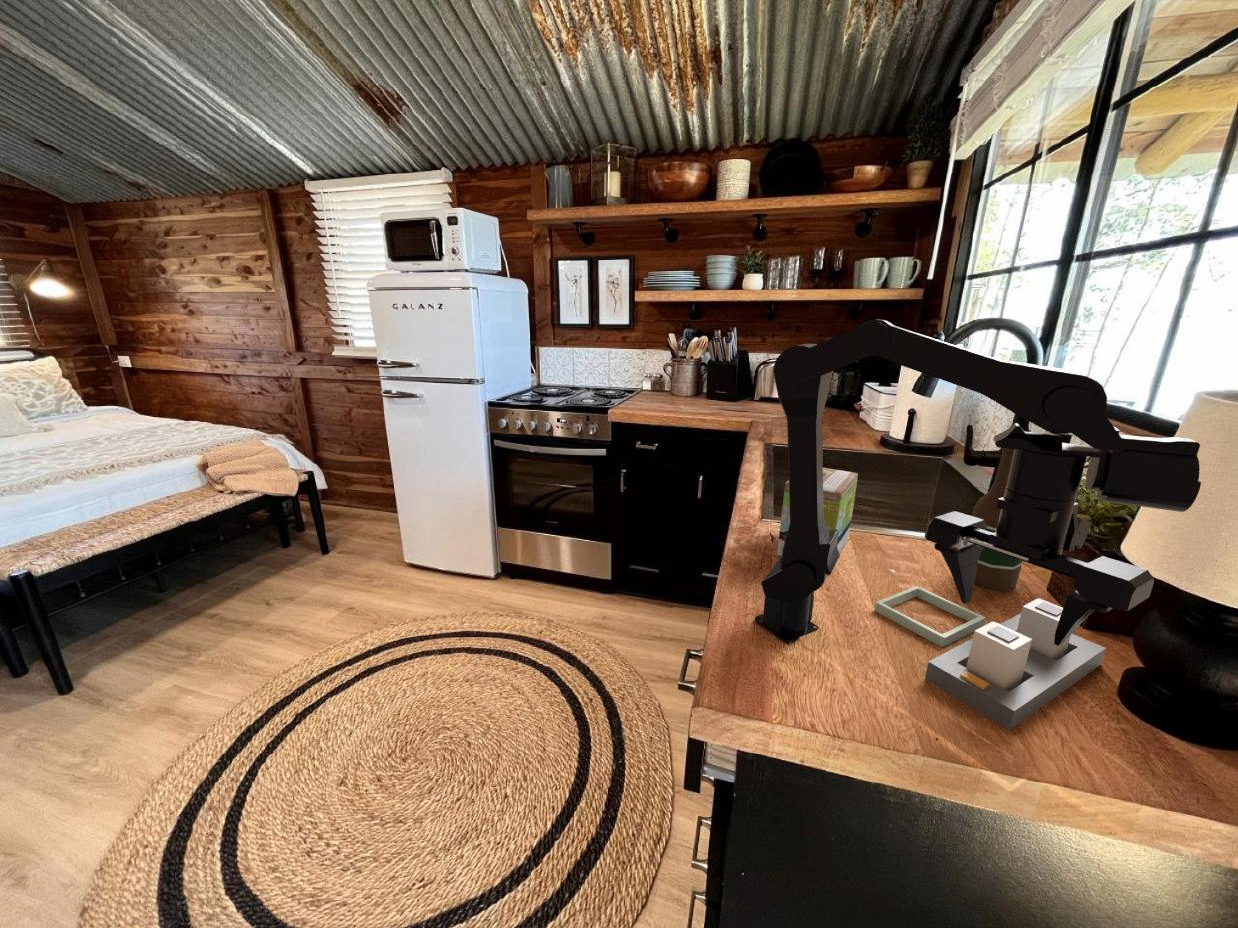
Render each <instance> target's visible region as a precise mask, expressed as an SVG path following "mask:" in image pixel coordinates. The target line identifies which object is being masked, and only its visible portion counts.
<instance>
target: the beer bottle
mask: <svg viewBox="0 0 1238 928" xmlns="http://www.w3.org/2000/svg"><path fill="white" fill-rule="evenodd" d="M1000 449H1001V451H1002V453H1001V456H1000V460H999V463H998V467H997V471H996V473H995V476H994V480H993V483H992V485H991V487H990V489H989V490H988V491H987V492H986V493H985V494H984V495H982V496H981V497H980V498H979V499H978V501H977V502H976V504H975V505H974V506H973V509H972V512H971V515H970V516H973V517H976V518H979V519H983V520H984V521H985V523H986V525H987V527H986V531H989V532H992V533H995V532H996V531H997V526H998V521H999V517H1000V512H1001V509H999V508H996V505H997V501H998V499H999V498H1002V497H1004V494H1005V489H1006V485H1007V481H1008V476H1009V471H1010V467H1011V462H1012V458H1013V453H1014V449H1007V448H1000ZM1022 565H1023V561H1022V560H1019V559H1016V558H1013V557H1010V556H1007V555H1004V554H1001V553H999V552H996V551H993V550H990V549H987V548H983V550H982V552H981V554H980V556H979V558H978V562H977V569H976V576H975V583H974V586H977V587H980V588H983V589H985V590H991V591H998V592H1000V591H1001V592H1009V591H1010V590H1012V589H1014V588H1016V587H1017V583H1018V581H1019V578H1020V577H1019V576H1020V572H1021V569H1022Z"/></svg>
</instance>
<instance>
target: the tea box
mask: <svg viewBox="0 0 1238 928" xmlns="http://www.w3.org/2000/svg"><path fill="white" fill-rule="evenodd" d="M858 477H859V474H858V473H857V472H853V471H846V470H841V469H840V470H839V469H833V468H828V467H823V516H824V520H825V523H826V525H827V528H828V530H839V535H838V540H837V549H838V552H839V554H840V555H841V553H842V551H843V549H844V548H845V547H846V544H847V542H848V541H849V537H850V531H851V524H852V518H853V513H854V512H853V511H854V504H855V497H856V491H857V485H858ZM784 484H785V486H784V492H783V500H782V501H783V502H782V508H781V515H780V516H781V517H780V524H779V525H780V526H779V534H778V542H777V549H776V556H778V557H780V558H781V557H782V552H783V547H784V543H785V539H786V536H787V532H788V528H789V524H790V505H789V479H788V480H787V481H786V482H785V483H784Z"/></svg>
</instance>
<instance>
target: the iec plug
mask: <svg viewBox="0 0 1238 928" xmlns="http://www.w3.org/2000/svg"><path fill="white" fill-rule="evenodd" d="M1000 624H1001V623H998V622H996V621H994V620H992V621H991V622H989V623H987V624H984V626H983V627H981V628H979V629H977V630H975V631H974V632H973V635H972V639H973V640H972V644H971V649H970V653H969V658H968V662H967V667H966V668H967V669H969V670H971V671H973V672H974V673H976V674H978V675H980V676H982V677H983V678H985V679H987V680H989V681H991V682H992V683H994V684H996V685H998V686H1000V687H1001V688H1003V689H1005V690H1007V691H1011V690H1013V689H1014V688H1016V687H1017V686H1019V685H1020V684H1021V680H1022V676H1023V673H1024V669H1025V665H1026V661H1027V657H1028V654H1029V650H1030V646H1031V642H1032V639H1031V638H1028V637H1026V636H1024V635H1022V634H1020V633H1018V632H1015V631H1013V630H1011V629H1009V628H1007V627H1005V626H1002V625H1000Z"/></svg>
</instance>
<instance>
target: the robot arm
mask: <svg viewBox="0 0 1238 928" xmlns="http://www.w3.org/2000/svg"><path fill="white" fill-rule="evenodd" d="M868 357H876V358H879V359H882V360H885V361H887V362H891V363H893V364H897V365H898V366H902V367H904V368H908V369H911V370H913V371H916V372H919V373H921V374H924V375H927V376H929V377H933V378H936V379H939V380H942V381H944V382H947V383H949V384H953V385H956V386H959V387H962V388H964V389H966V390H970V391H973V392H975V393H978V394H981V395H983V396H985V397H987V398H988V399H990V400H991V401H993V402H995V403H996V404H999V405H1000V406H1002V407H1003V408H1005V409H1007V410H1008V411H1010V412H1011V413H1013V414H1015V415H1017V416H1019V417H1020V418H1022V419H1024V420H1026V421H1028V422H1030V423H1032V424H1033V425H1035V426H1036V427H1038V428H1039V429H1042V430H1045V431H1046V432H1049V433H1043V432H1034V431H1033V432H1031V431H1025V430H1024V428H1022V427H1021V426H1020V424H1019V423H1018V422H1017V423H1016V422H1015V423H1013V424H1012V425H1011V426H1010V427H1009V428H1008V429H1006V430H1004V431H1001V432H1000V433H998V434H996V435H994V436H993V442H994V445H995V446H996V447H997V448H1000V449H1001V448H1007V449H1014V453H1013V458H1012V462H1011V467H1010V471H1009V476H1008V481H1007V485H1006V489H1005V494H1004V497H1002V498H999V499H998V501H997V505H996V508H999V509H1001V512H1000V517H999V521H998V526H997V531H996V532H995V533H992V532H989V531H986V527H987V525H986V523H985V521H984V520H983V519H979V518H976V517H973V516H971V515H969V514H967V513H963V512H959V511H957V510H954V511H951V512H947V513H944V514H941V515H938V516H934V517H933V518H931V519H929V520H928V523H927V524H926V526H925V532H924V539H925V540H927V541H929V542H931V543H935V544H934V546H933V547H934V548H933V549H935V550H936V551H939V552H940V553H941V556H942V557H943V559H944V562H945V563H946V566H947V567H948V569H949V572H950V574H951V577H952V579H953V581H954V584H955V587H956V591H957V593H958V596H959V598H960V601H961V603H962V604H964V605H967V604H969V603H971V600H972V596H973V593H974V589H975V584H974V583H975V576H976V569H977V562H978V558H979V556H980V554H981V552H982V550H983V548H987V549H990V550H993V551H996V552H999V553H1001V554H1004V555H1007V556H1010V557H1013V558H1016V559H1019V560H1022V562H1025V563H1028V564H1030V565H1034V566H1036V567H1039V568H1041V569H1045V570H1048V571H1050V572H1054V573H1056V574H1060V575H1062V576H1065V577H1069V578H1071V579H1074V583H1073V588H1074V589H1075V590H1074V591H1072V592H1071V593H1069V594H1067V596H1066V598H1065V600H1064V603H1063V607H1062V608H1063V610H1062V613H1061V616H1060V619H1059V622H1058V625H1057V628H1056V631H1055V638H1054V644H1055V645H1057V646H1059V645H1061V644H1062V643H1064V641H1065V640H1066V639H1067V638H1068V637H1069V636H1070V635H1071V634H1072V633H1073V632H1074V631H1075V632H1076V630H1077V629H1078V628H1079V626H1080V625H1082V623H1083V622H1084V621H1085V620H1086V619H1087V618H1088V616H1089V615H1091V614H1092V613H1093V612H1094V611H1097V612H1098V613H1099V612H1100V613H1108V612H1110V611H1111V610H1113V609H1114V610H1117V611H1122V612H1123V611H1124V612H1129V611H1130V610H1131V609H1133V608H1135V607H1136V606H1137V605H1139V604H1141V603H1142V602H1143V601H1145V600H1147V599H1148V598H1150V595H1151V593H1152V590H1153V587H1154V583H1155V580H1154V579H1155V578H1154V577H1153V576H1152V573H1151V572H1150V570H1148V569H1146V568H1143V567H1140V566H1136V565H1133V564H1130V563H1126V562H1124V561H1121V560H1117V559H1114V558H1110V557H1107V556H1104V555H1102V556H1100V557H1098V558H1095V559H1093V560H1092V561H1090V562H1085V561H1082V560H1079V559H1076V558H1073V557H1070V556H1067V555H1064V554H1062V553H1063V551H1066V552H1068V553H1069V552H1072V551H1073V550H1075V548H1077V549H1082V548H1083V546H1084V543H1085V540H1086V538H1087V536H1088V534H1089V531H1090V528H1091V526H1092V525H1093V522H1091V521H1089V520H1087V519H1084V518H1083V517H1079V516H1078V513H1079V503H1077V502H1076V499H1077V496H1078V491H1079V488H1080V485H1081V482H1082V477H1083V473H1084V470H1085V466H1086V465H1085V464H1086V462H1087V458H1088V457H1089V458H1090V459H1089V463H1088V467H1087V470H1086V475H1085V486H1086V488H1087V490H1090V491H1097V492H1096V494H1097V498H1098V499H1099V501H1100V502H1106V503H1113V504H1121V505H1129V506H1136V507H1143V508H1150V509H1157V510H1164V511H1165V510H1166V511H1172V512H1173V511H1174V512H1179V513H1183V512H1186V511H1188V510H1189V509H1190V508H1191V507H1192V506H1193V504H1194V503H1195V501H1196V500H1197V497H1198V495H1199V492H1200V489H1201V485H1202V483H1201V480H1200V460H1199V457H1198V455H1199V454H1198V453H1199V451H1200V447H1201V444H1200V443H1199V442H1198V441H1196V440H1194V439H1191V438H1190V437H1189V438H1187V437H1176V436H1175V437H1174V436H1173V437H1172V436H1171V437H1170V436H1169V437H1151V436H1150V437H1149V436H1138V435H1137V436H1136V435H1125V434H1120V429H1118V428H1117V427H1115V426H1114V425H1113V424H1112V422H1111V421H1110V419H1109V418H1108V416H1106V414H1105V411H1106V409H1107V406H1108V405H1107V404H1108V395H1107V394H1106V391H1105V388H1104V387H1103V385H1102V384H1101V383H1100V382H1099V381H1097V380H1096V379H1093V378H1092V377H1089V376H1088V375H1084V374H1082V373H1080V372H1079V371H1078V372H1077V371H1074V370H1071V369H1065V368H1059V367H1054V366H1053V367H1051V366H1046V365H1040V364H1033V363H1026V362H1018V361H1011V360H1006V359H1005V360H1004V359H998V358H995V357H993V356H989V355H986V354H984V353H980V352H977V351H973V350H971V349H967V348H965V347H961V346H958V345H956V344H952V343H949V342H946V341H942V340H940V339H936V338H933V337H931V336H928V335H925V334H921V333H918V332H915V331H912V330H908V329H906V328H902V327H900V326H896V325H894V324H893V323H891V322H890V321H888V320H885V319H878V318H877V319H876V318H875V319H870V320H867V321H864V322H863V323H861V324H860V326H857V327H855V328H853V329H851V330H848V331H845V332H844V333H841V334H839V335H836V336H835V337H832V338H829V339H827V340H824V341H822V342H819V343H805V344H798V345H793V346H790V347H788V348H786V349H785V350H783V351H782V352H781V353H780V355H779V356H777V358H776V359H775V361H774V364H773V368H772V369H773V370H772V372H773V379H774V383H775V387H776V393H777V397H778V400H779V403H780V405H781V407H782V410H783V413H784V415H785V418H786V424H787V425H786V427H787V429H786V432H787V462H788V463H787V464H788V465H787V466H788V480H789V505H790V524H789V528H788V532H787V536H786V539H785V543H784V547H783V552H782V557H781V556H780V557H779V558H778V559H777V561H776V562H775V564H774V565H773V566H772V567H771V569H770V570H769V571H768V573H767V574H766V575H765V577H764V579H763V580H762V581H761V586H762V590H763V593H764V603H763V612H762V614H759V615H755V617H754V621H755V622H756V623H757V624H758V625H760V626H761V627H763V628H764V629H765V630H766V631H768V632H769V633H770V634H772V635H774V636H775V637H777V638H778V639H779V640H781V641H782V642H784V643H785V644H790V643H793V642H796V641H798V640H800V639H801V637H804V636H807V635H808V634H811V633H814V632H815V631H816V632H817V631H818V630H819V629H820V627H819V626H818V625H816V624H815V623H813V622H812V621H811V620H812V618H813V611H814V610H813V609H814V603H815V601H814V600H815V595H814V593H815V591H818V590H819V589H820V588H822V587H823V585H824V584H825V582H826V580H827V577H828V576H829V577H830V576H831V574H832V573H833V570H834V569H835V567H836V564H837V562H838V560H839V558H840V556H841V553H840V554H839V552H838V549H837V540H838V535H839V530H828V528H827V525H826V523H825V520H824V516H823V468H824V462H823V461H824V460H823V458H824V457H823V456H824V453H823V451H824V450H823V446H824V445H823V443H824V442H823V413H824V410H825V406H826V403H827V398H828V395H829V393H830V392H829V391H830V387H831V381H832V375H833V372H834V371H836V370H839V369H842V368H844V367H846V366H849V365H851V364H853V363H856V362H858V361H860V360H863V359H866V358H868ZM1068 434H1072V435H1073V436H1074V437H1076V438H1078V439H1079V440H1081V441H1082V442H1084V443H1085V444H1087V445H1081V444H1074V443H1066V442H1063V439H1062V435H1068Z"/></svg>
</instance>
